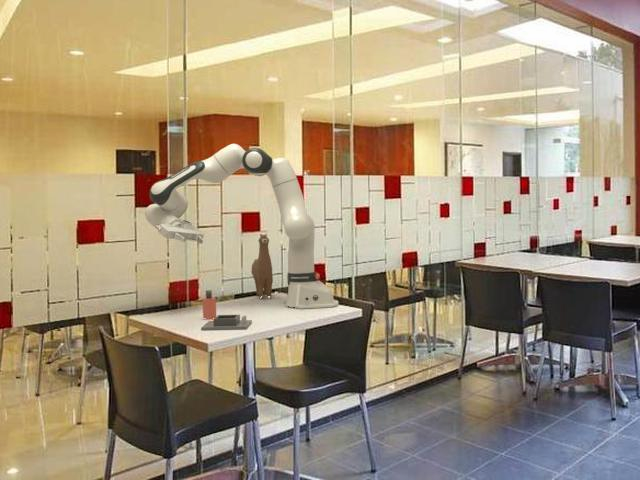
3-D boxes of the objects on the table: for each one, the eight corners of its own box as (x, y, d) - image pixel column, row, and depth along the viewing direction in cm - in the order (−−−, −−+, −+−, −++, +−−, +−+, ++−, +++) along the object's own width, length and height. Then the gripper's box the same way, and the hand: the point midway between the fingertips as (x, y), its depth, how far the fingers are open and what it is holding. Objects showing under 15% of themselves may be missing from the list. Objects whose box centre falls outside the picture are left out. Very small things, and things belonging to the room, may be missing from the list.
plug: (210, 317, 240) (209, 289, 240) (216, 318, 238) (215, 290, 237) (203, 319, 238) (202, 290, 237) (208, 320, 235) (207, 291, 235)
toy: (257, 301, 277) (255, 234, 275) (251, 295, 297) (249, 233, 295) (276, 299, 279) (274, 234, 277) (270, 293, 299) (267, 232, 297)
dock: (251, 322, 227) (251, 313, 227) (246, 329, 215) (246, 319, 215) (209, 323, 228) (208, 314, 228) (201, 330, 216) (200, 320, 216)
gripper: (155, 217, 246) (176, 232, 239) (193, 222, 263) (213, 236, 256) (150, 232, 247) (170, 246, 240) (188, 235, 264) (208, 249, 257)
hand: (193, 241), depth 248 cm, fingers open, 8 cm apart
